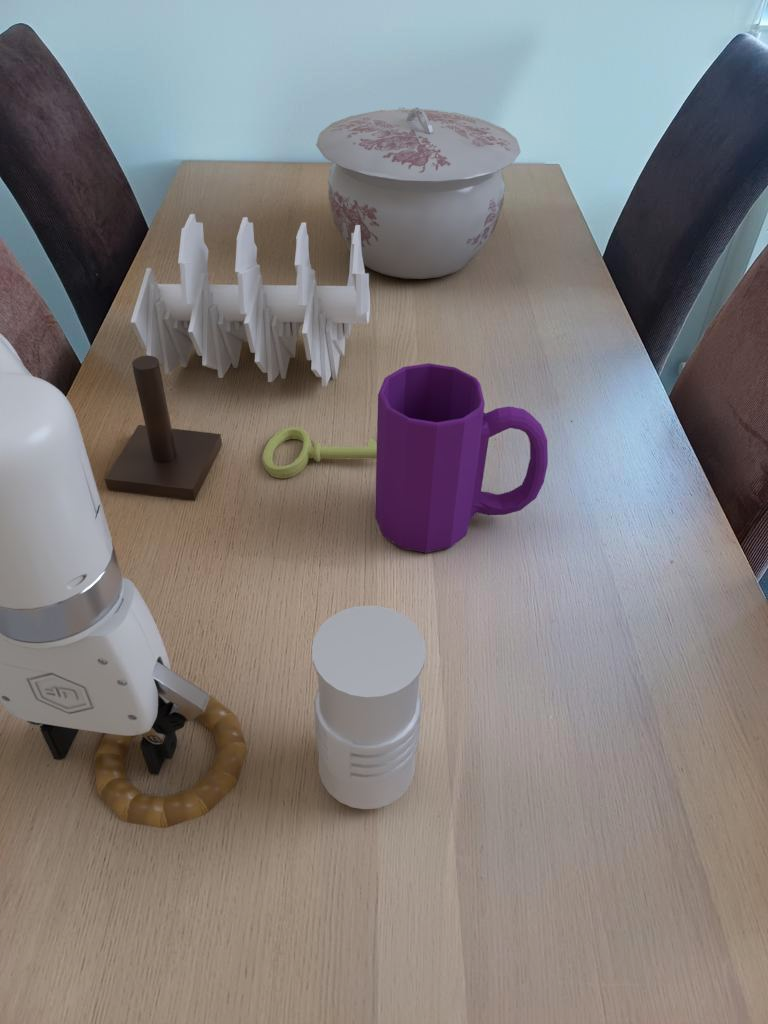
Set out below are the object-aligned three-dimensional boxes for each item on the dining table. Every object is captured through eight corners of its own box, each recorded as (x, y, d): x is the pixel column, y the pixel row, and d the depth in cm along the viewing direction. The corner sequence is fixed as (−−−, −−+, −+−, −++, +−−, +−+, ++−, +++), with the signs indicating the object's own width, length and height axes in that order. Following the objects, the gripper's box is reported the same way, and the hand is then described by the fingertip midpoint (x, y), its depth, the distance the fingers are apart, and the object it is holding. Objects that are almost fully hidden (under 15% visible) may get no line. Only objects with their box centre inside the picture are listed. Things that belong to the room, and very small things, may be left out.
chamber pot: (450, 323, 105) (464, 160, 91) (282, 269, 116) (271, 115, 102) (536, 246, 123) (559, 100, 109) (384, 206, 133) (387, 67, 119)
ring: (73, 819, 55) (66, 805, 53) (131, 692, 62) (126, 677, 61) (221, 843, 54) (217, 829, 52) (261, 712, 61) (259, 696, 60)
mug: (373, 490, 81) (376, 362, 70) (526, 489, 81) (551, 361, 71) (376, 556, 74) (380, 424, 64) (543, 554, 75) (573, 423, 64)
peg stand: (107, 490, 80) (77, 383, 71) (141, 435, 86) (117, 332, 78) (195, 500, 79) (175, 394, 70) (222, 445, 85) (207, 341, 77)
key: (385, 467, 83) (385, 451, 82) (265, 482, 81) (264, 465, 80) (371, 426, 88) (371, 410, 87) (259, 439, 86) (257, 423, 85)
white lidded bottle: (298, 793, 57) (286, 664, 46) (352, 721, 61) (352, 588, 51) (381, 844, 54) (387, 719, 44) (431, 765, 58) (447, 634, 48)
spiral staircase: (181, 370, 103) (375, 374, 101) (128, 390, 86) (360, 395, 84) (171, 218, 98) (376, 220, 96) (113, 208, 81) (360, 209, 79)
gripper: (-130, 611, 44) (-25, 778, 56) (175, 654, 42) (215, 816, 55) (-55, 518, 49) (26, 689, 62) (218, 553, 48) (246, 721, 60)
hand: (115, 748), depth 58 cm, fingers open, 6 cm apart
